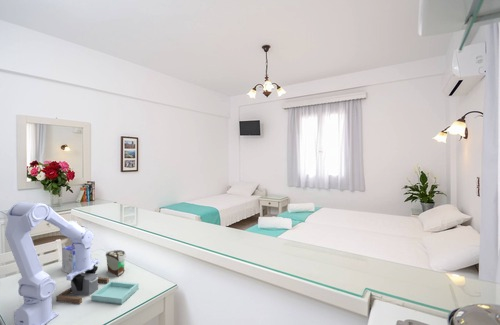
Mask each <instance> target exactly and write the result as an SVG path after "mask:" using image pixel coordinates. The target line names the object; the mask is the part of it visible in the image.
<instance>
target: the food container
mask: <svg viewBox="0 0 500 325" xmlns="http://www.w3.org/2000/svg"><path fill="white" fill-rule="evenodd" d="M105 257H106V267H107V273H109V274H111V275H113V276H114V277H118V278H119V277H121V276H123V274H124V273H125V259H126V258H127V255H126V251H124V250H122V249H116V250H115V249H114V250H110V251H107V252H105Z"/></svg>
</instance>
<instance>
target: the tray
mask: <svg viewBox="0 0 500 325" xmlns="http://www.w3.org/2000/svg"><path fill="white" fill-rule="evenodd" d="M138 290H139V283H134V282H126V281H124V282H123V281H116V280H115V281H114V280H109V282H108V283H107V284H104V285H103V286H102V287H101V288H98V290H96V291H95V292H94V293H92V294H91V295H90V297H91V302H96V303H97V302H98V303H105V304H112V305H124V304H125V302H127V301H128V300H129V298H131V297H132V296H133V295H134V294H135V293H136V292H137V291H138Z"/></svg>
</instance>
